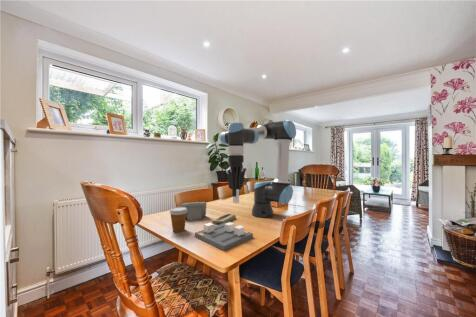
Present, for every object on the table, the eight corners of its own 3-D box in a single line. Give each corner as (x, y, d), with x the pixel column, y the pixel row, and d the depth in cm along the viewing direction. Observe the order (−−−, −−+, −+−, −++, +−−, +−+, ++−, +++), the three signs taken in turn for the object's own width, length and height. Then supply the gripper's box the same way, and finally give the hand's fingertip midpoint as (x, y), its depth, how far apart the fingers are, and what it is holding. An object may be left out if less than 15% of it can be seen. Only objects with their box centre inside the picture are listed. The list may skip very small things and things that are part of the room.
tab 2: (229, 228, 109) (229, 222, 109) (234, 230, 107) (234, 223, 107) (224, 230, 106) (224, 223, 106) (228, 232, 104) (228, 225, 104)
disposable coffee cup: (165, 232, 110) (165, 210, 110) (176, 226, 119) (176, 205, 119) (180, 234, 107) (180, 211, 107) (190, 228, 116) (190, 207, 116)
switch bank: (223, 226, 118) (223, 223, 118) (252, 237, 103) (252, 233, 103) (194, 236, 104) (194, 232, 104) (223, 250, 89) (223, 246, 89)
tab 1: (209, 229, 108) (209, 222, 108) (214, 230, 106) (214, 224, 106) (203, 231, 105) (203, 224, 105) (207, 233, 103) (207, 226, 103)
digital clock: (206, 215, 140) (206, 200, 139) (205, 220, 131) (205, 203, 130) (182, 216, 138) (182, 200, 138) (180, 220, 129) (180, 204, 129)
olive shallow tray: (225, 217, 138) (225, 212, 138) (236, 219, 134) (236, 214, 134) (211, 224, 124) (211, 218, 124) (222, 226, 120) (222, 221, 120)
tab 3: (239, 231, 104) (239, 225, 104) (244, 233, 102) (244, 226, 102) (233, 234, 101) (233, 227, 101) (239, 236, 99) (239, 228, 99)
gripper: (239, 154, 107) (239, 199, 107) (220, 154, 97) (221, 203, 98) (250, 154, 102) (250, 201, 102) (231, 154, 92) (232, 206, 93)
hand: (236, 202), depth 100 cm, fingers closed
